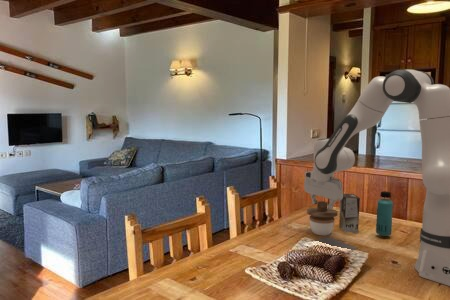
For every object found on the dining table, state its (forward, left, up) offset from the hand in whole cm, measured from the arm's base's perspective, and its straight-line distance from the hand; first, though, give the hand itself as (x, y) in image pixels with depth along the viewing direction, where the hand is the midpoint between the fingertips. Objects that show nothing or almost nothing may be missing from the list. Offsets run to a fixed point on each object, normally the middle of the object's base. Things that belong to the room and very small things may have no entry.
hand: (322, 206), depth 167 cm
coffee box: (-2, -15, -13) cm, 20 cm away
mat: (-13, +9, -13) cm, 20 cm away
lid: (0, 0, -3) cm, 3 cm away
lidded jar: (0, 0, -13) cm, 13 cm away
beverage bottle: (-16, -21, -13) cm, 29 cm away
